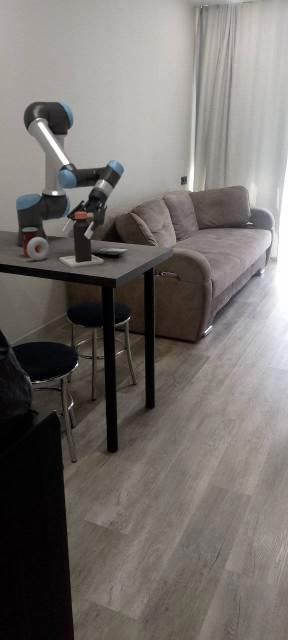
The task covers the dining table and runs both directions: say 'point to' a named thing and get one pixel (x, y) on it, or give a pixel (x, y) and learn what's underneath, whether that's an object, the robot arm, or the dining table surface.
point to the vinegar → (81, 238)
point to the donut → (33, 244)
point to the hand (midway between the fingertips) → (75, 235)
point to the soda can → (29, 238)
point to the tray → (73, 264)
